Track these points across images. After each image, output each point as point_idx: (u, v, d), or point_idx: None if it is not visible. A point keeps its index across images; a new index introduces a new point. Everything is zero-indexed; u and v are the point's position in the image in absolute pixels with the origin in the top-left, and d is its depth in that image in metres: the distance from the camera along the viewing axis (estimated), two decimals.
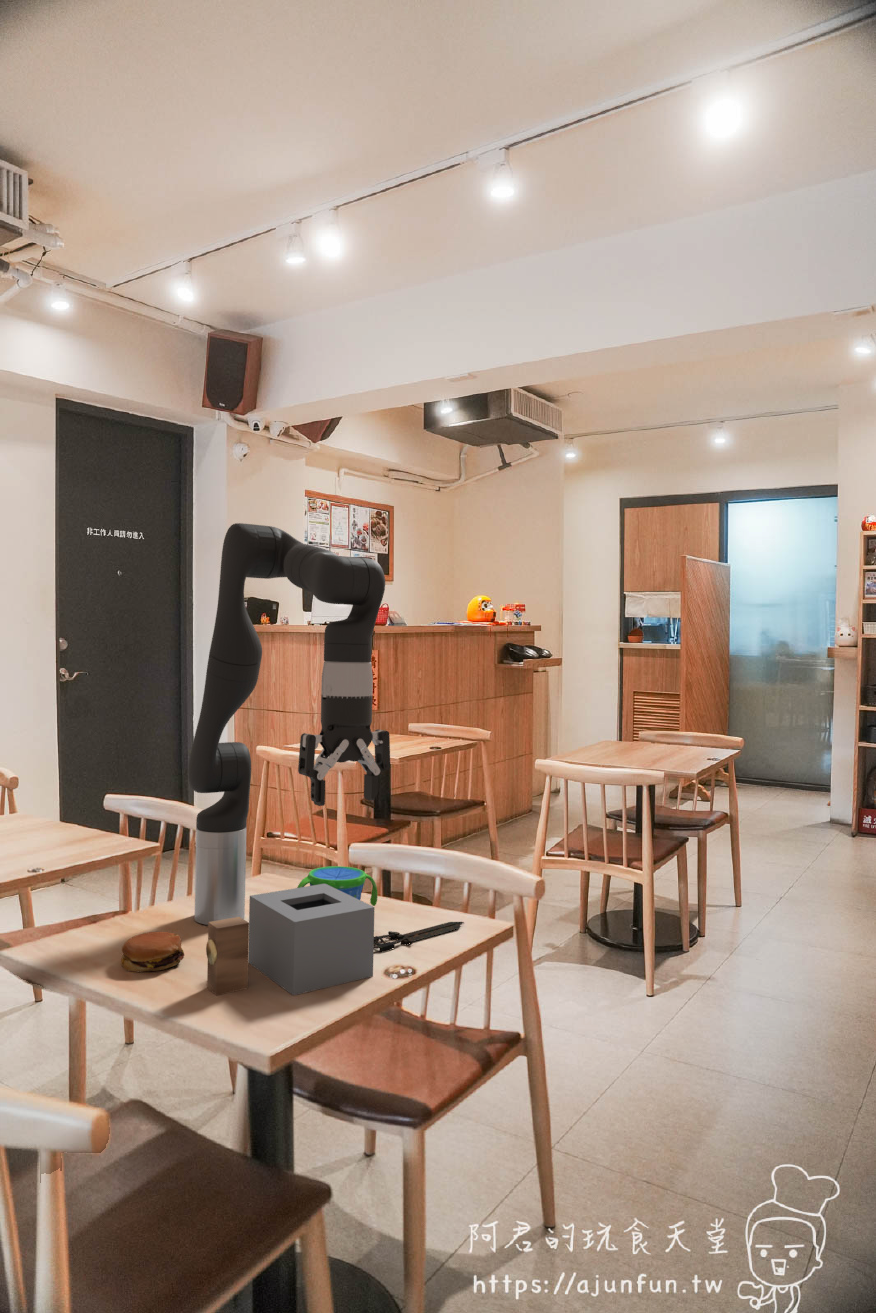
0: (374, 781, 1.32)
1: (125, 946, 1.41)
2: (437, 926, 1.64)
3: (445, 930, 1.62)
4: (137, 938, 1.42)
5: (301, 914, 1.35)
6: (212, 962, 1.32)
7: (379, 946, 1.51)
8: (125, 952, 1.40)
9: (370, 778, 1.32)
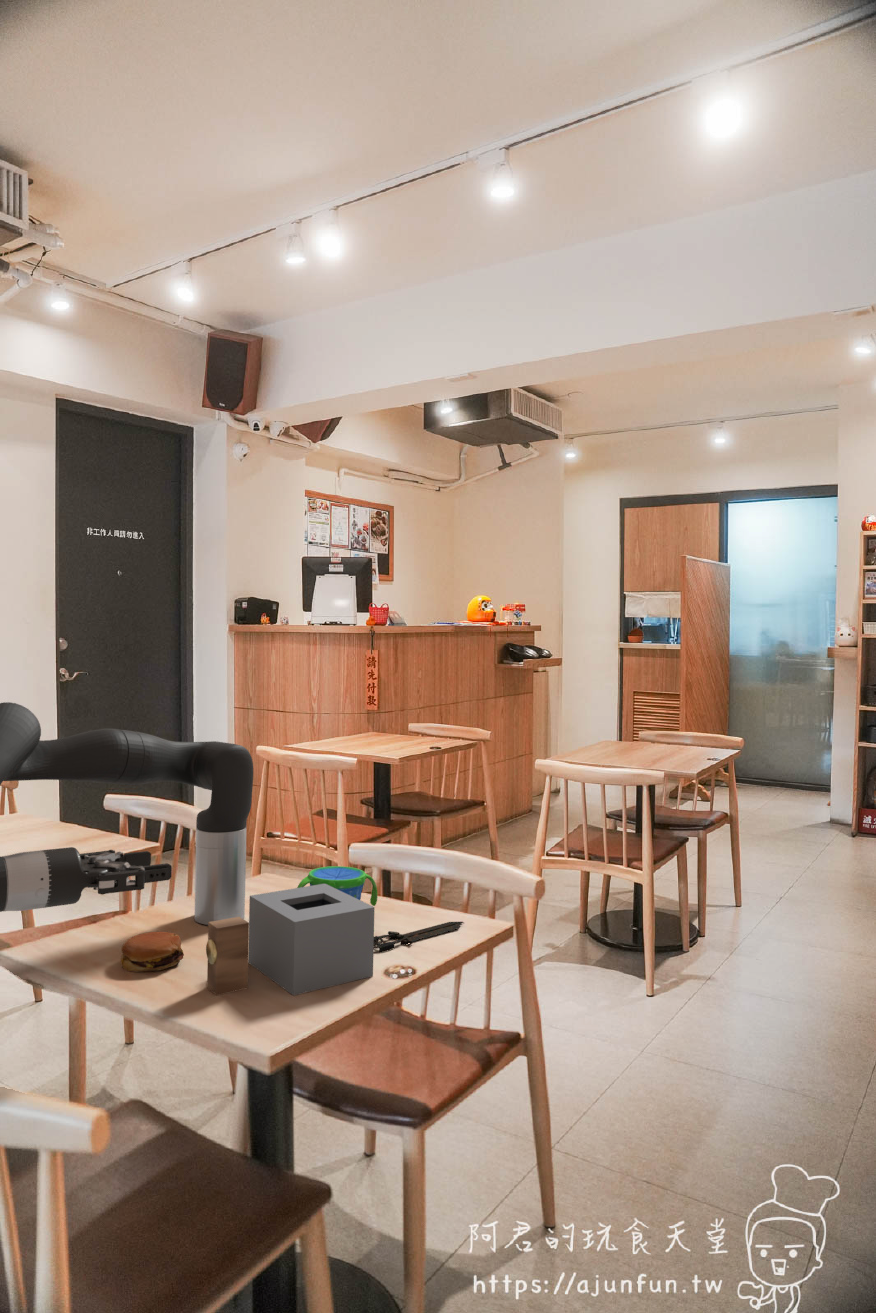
0: (150, 881, 1.22)
1: (124, 946, 1.41)
2: (437, 926, 1.64)
3: (445, 930, 1.62)
4: (136, 938, 1.42)
5: (301, 914, 1.35)
6: (212, 962, 1.32)
7: (379, 946, 1.51)
8: (124, 952, 1.40)
9: None
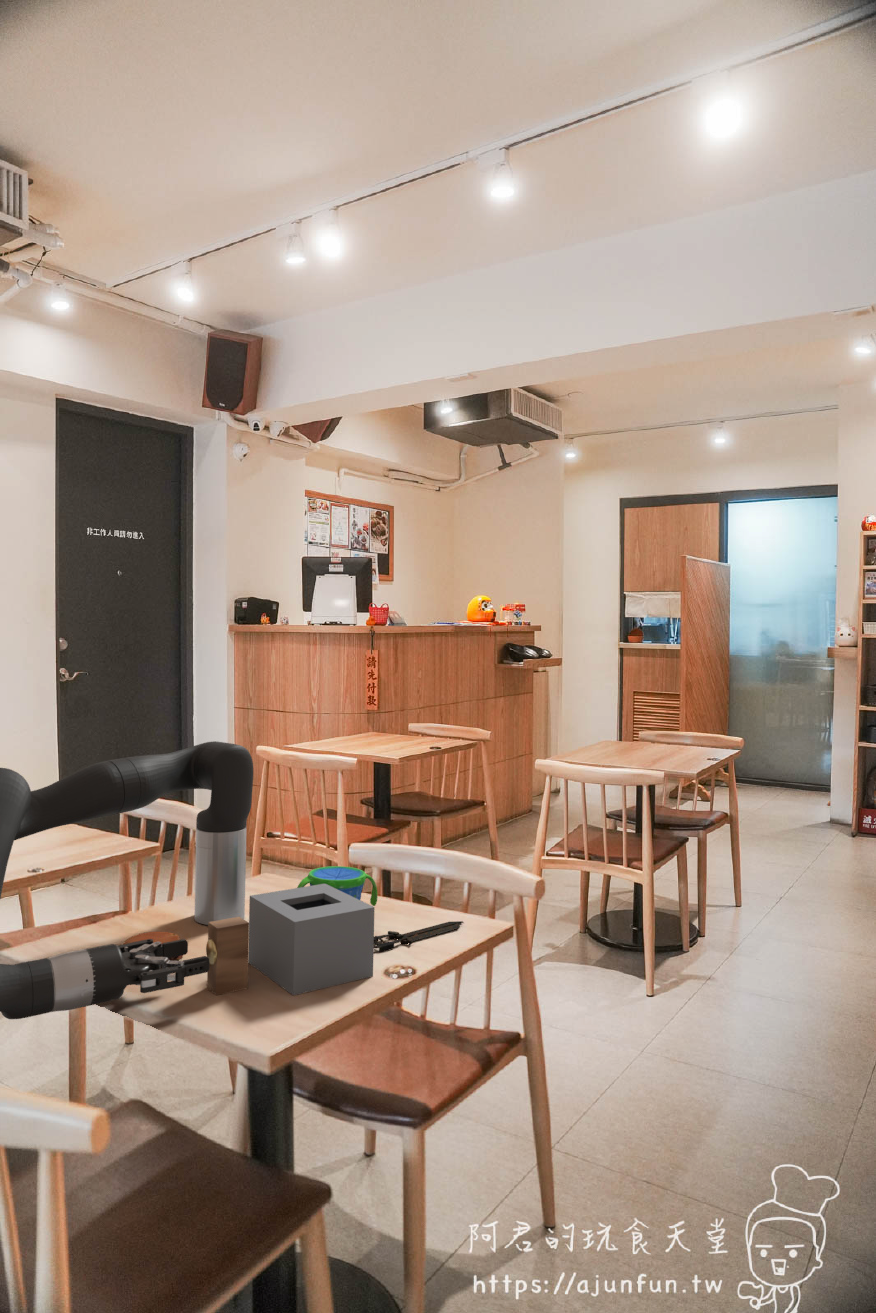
0: (189, 975, 1.26)
1: None
2: (437, 926, 1.64)
3: (445, 930, 1.62)
4: (136, 938, 1.42)
5: (301, 914, 1.35)
6: (212, 962, 1.32)
7: (378, 946, 1.51)
8: None
9: None
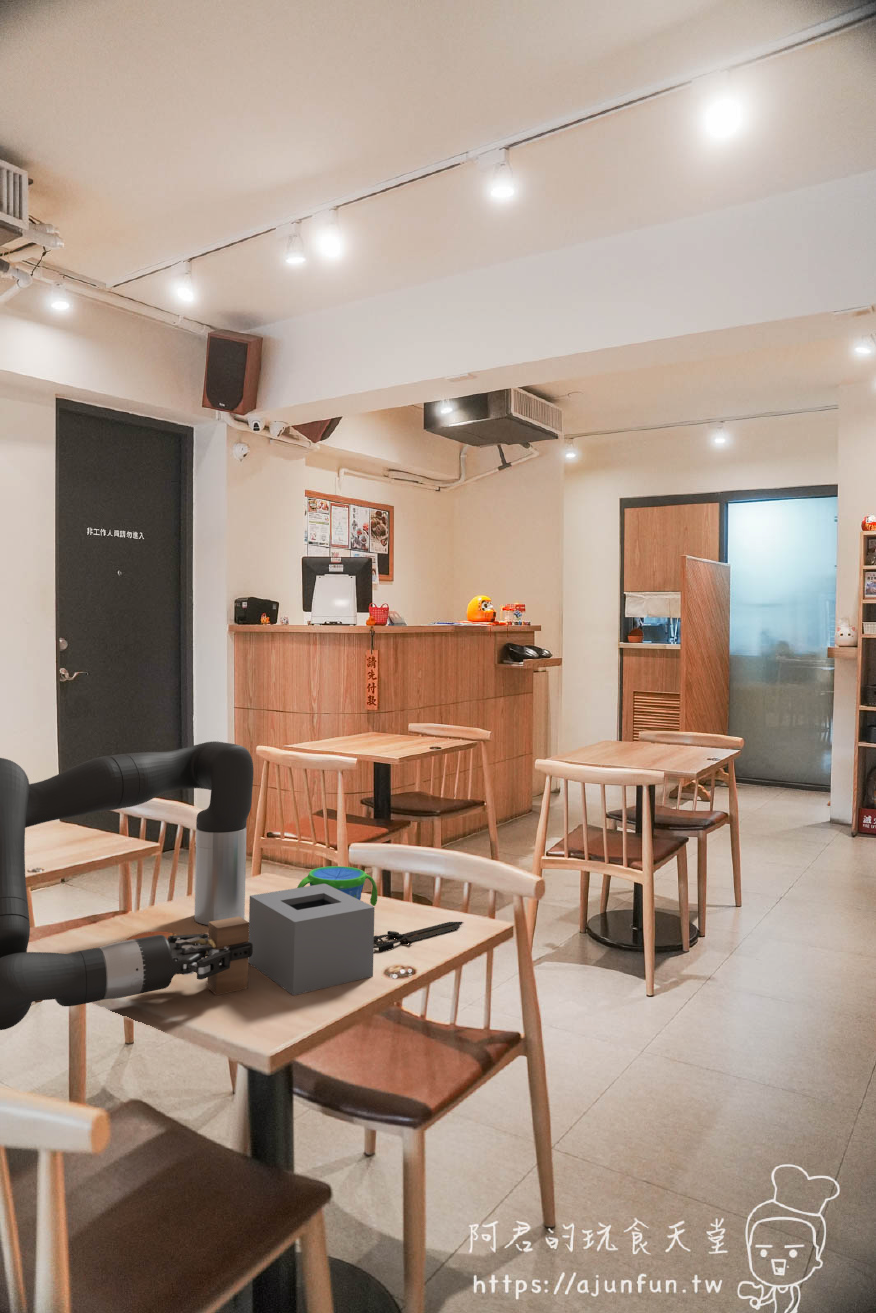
0: (234, 959, 1.32)
1: None
2: (436, 926, 1.64)
3: (444, 930, 1.62)
4: (135, 937, 1.42)
5: (301, 914, 1.35)
6: None
7: (378, 946, 1.51)
8: None
9: None
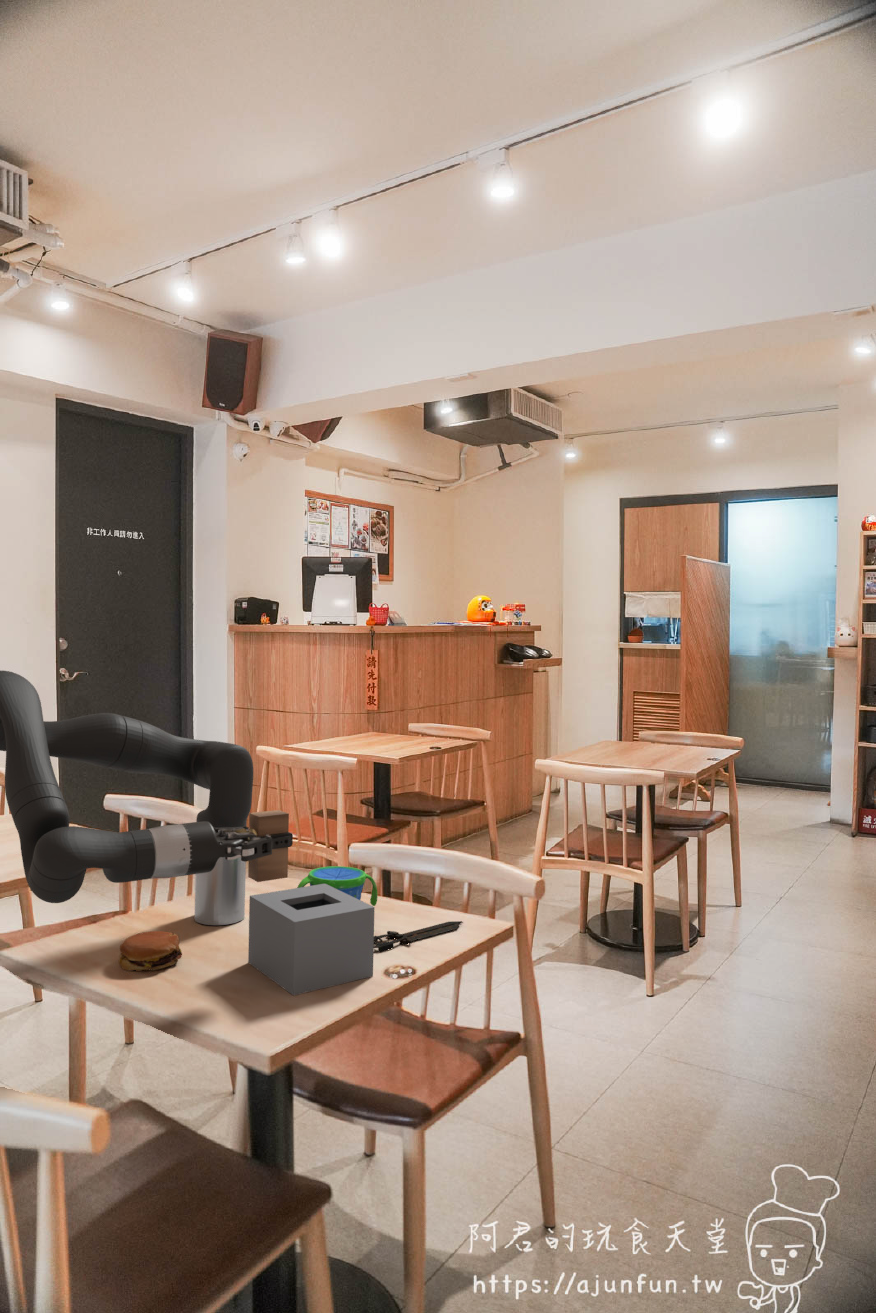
0: (275, 848, 1.36)
1: (123, 945, 1.41)
2: (436, 926, 1.64)
3: (444, 930, 1.62)
4: (135, 937, 1.42)
5: (301, 914, 1.35)
6: None
7: (378, 946, 1.51)
8: (123, 951, 1.41)
9: None
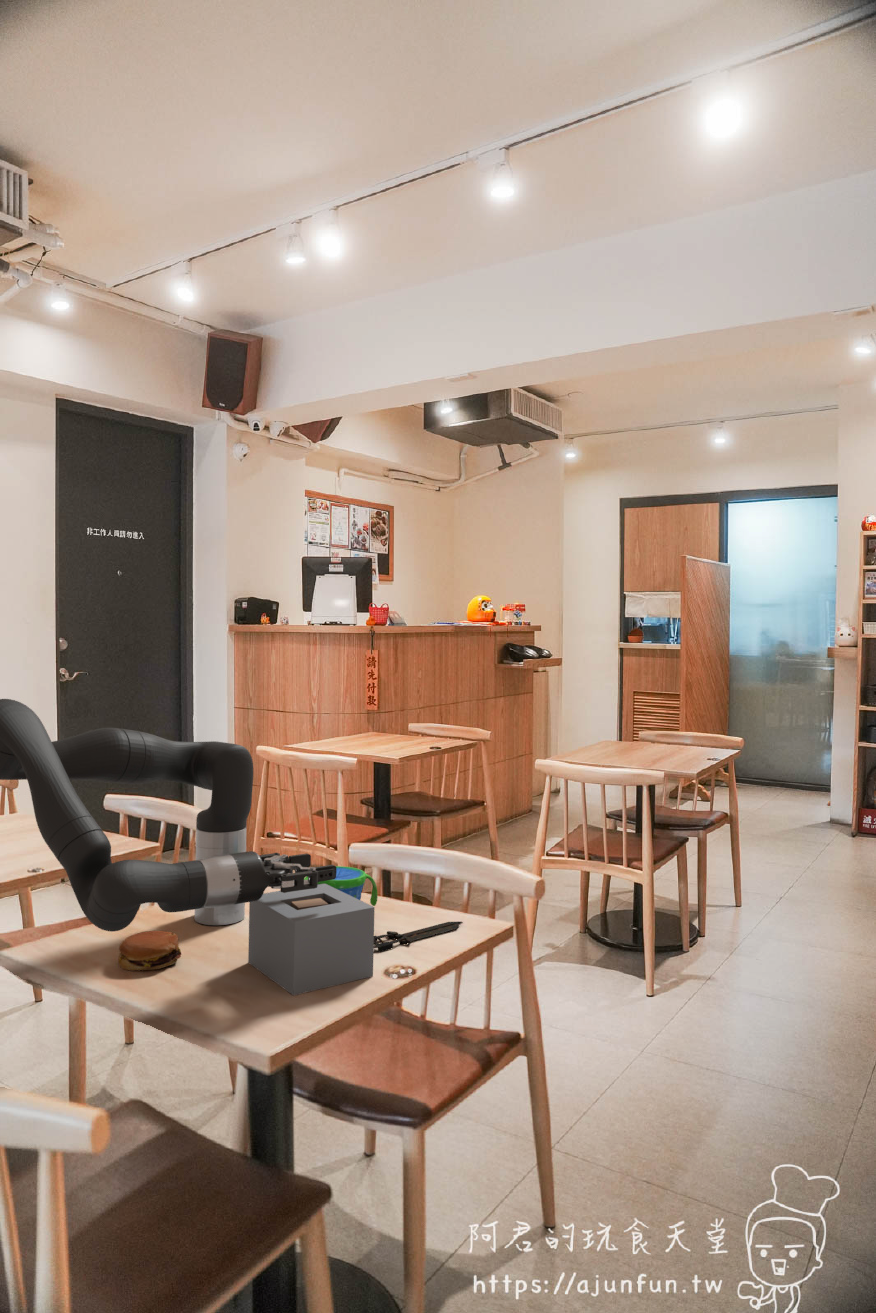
0: (319, 881, 1.38)
1: (122, 945, 1.41)
2: (436, 926, 1.64)
3: (444, 930, 1.62)
4: (134, 937, 1.43)
5: (301, 914, 1.35)
6: None
7: (377, 946, 1.51)
8: (122, 951, 1.41)
9: None
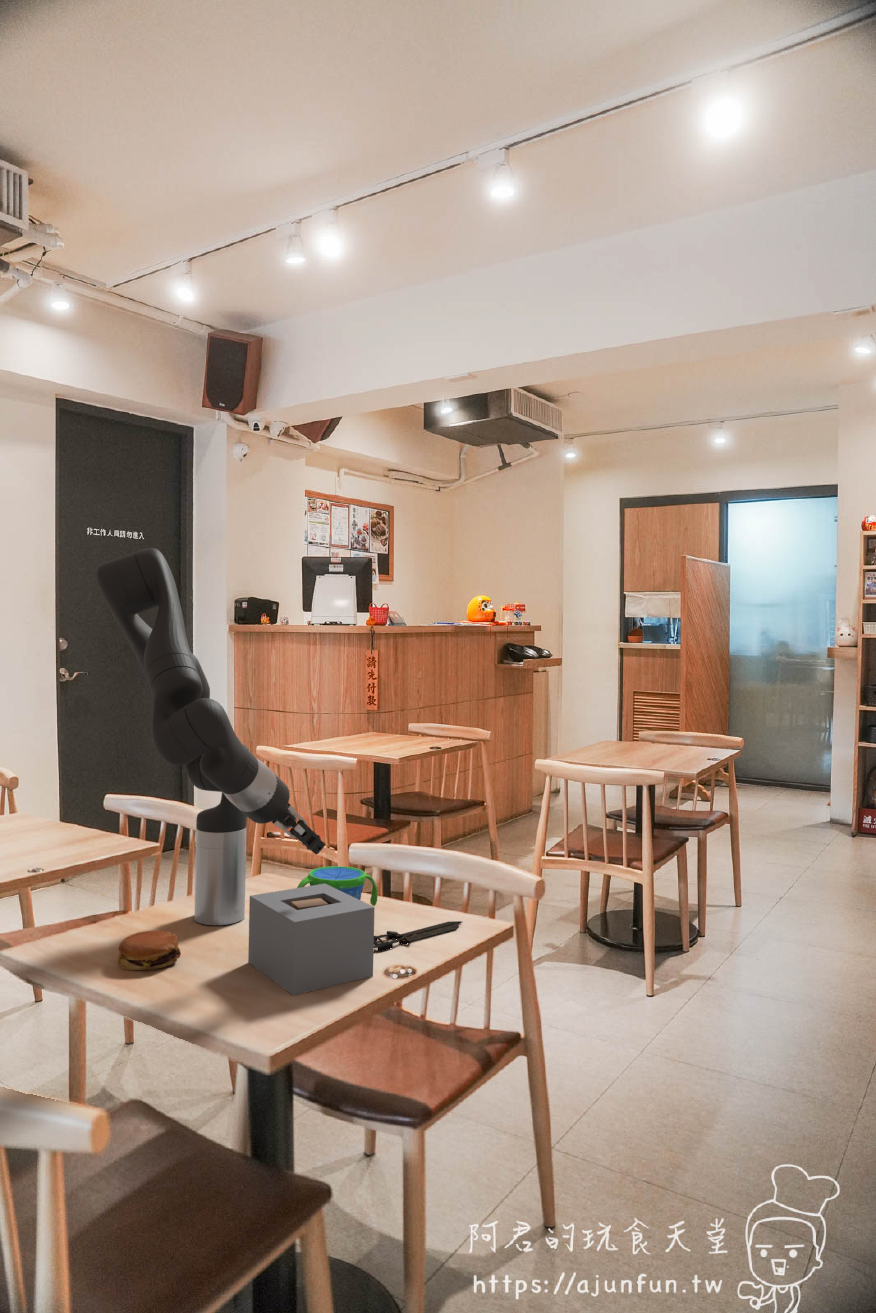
0: None
1: (122, 945, 1.41)
2: (435, 926, 1.64)
3: (443, 930, 1.62)
4: (134, 937, 1.43)
5: (301, 914, 1.35)
6: None
7: (377, 946, 1.51)
8: (122, 951, 1.41)
9: None
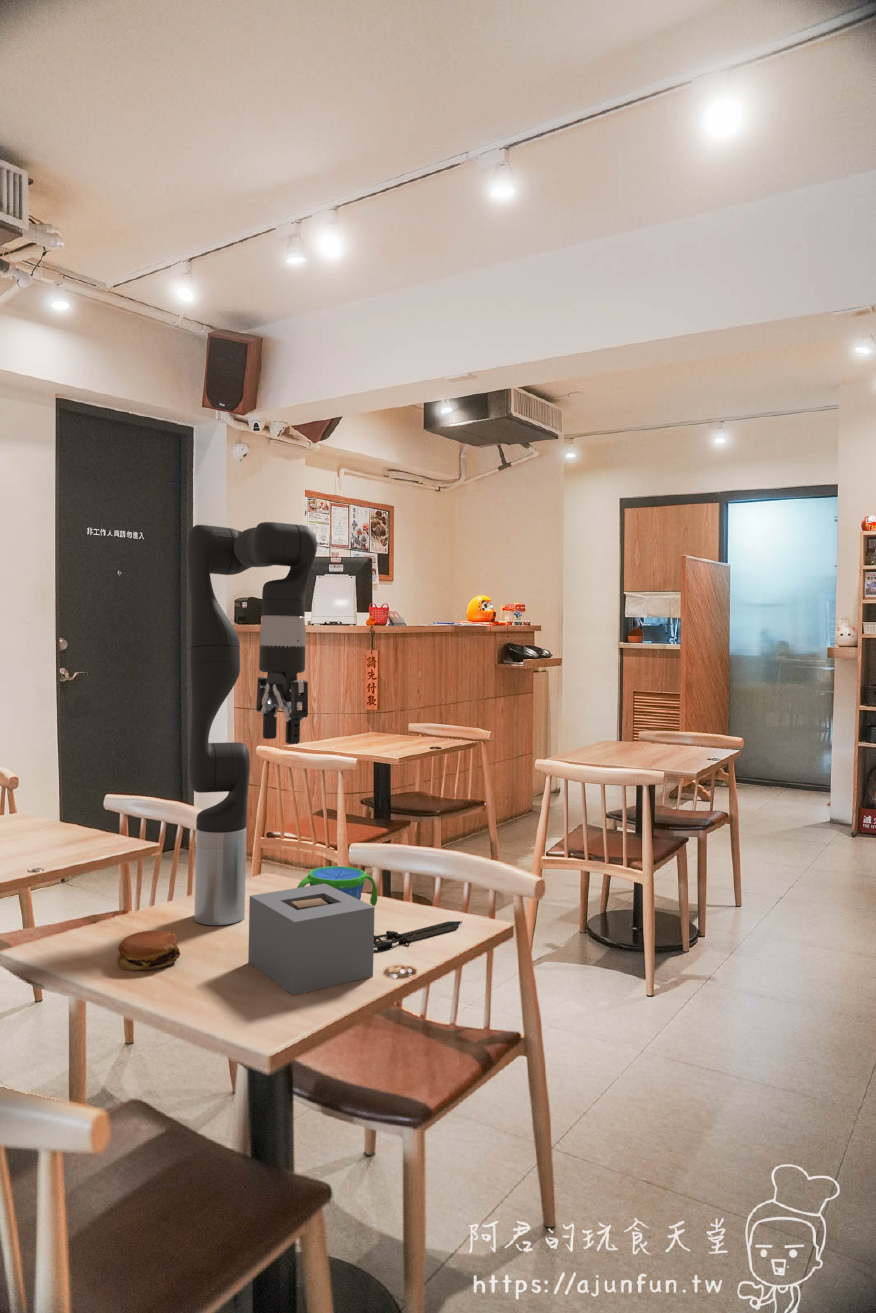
0: (287, 726, 1.43)
1: (121, 945, 1.41)
2: (435, 926, 1.64)
3: (443, 930, 1.62)
4: (133, 937, 1.43)
5: (301, 914, 1.35)
6: None
7: (377, 945, 1.51)
8: (121, 951, 1.41)
9: None
